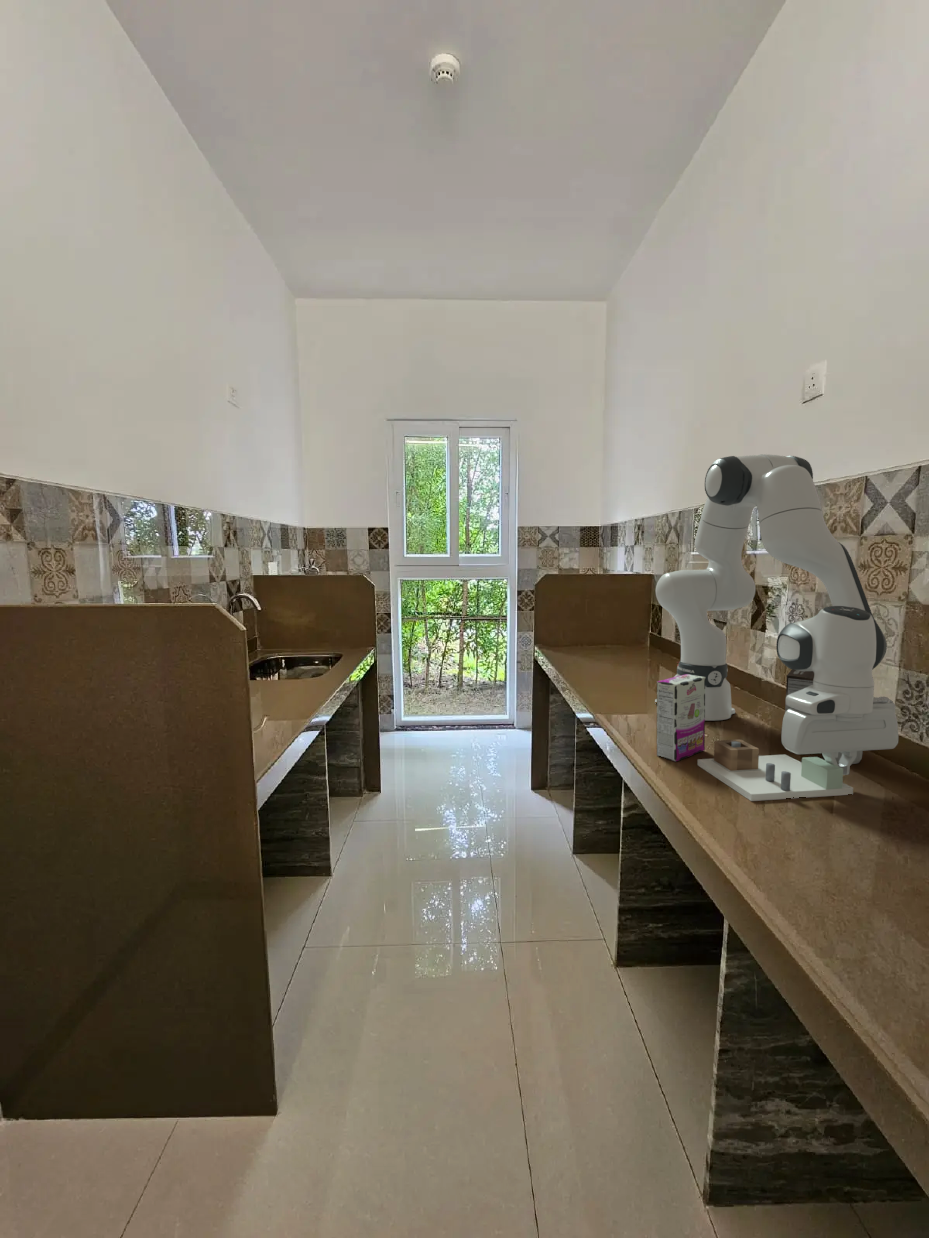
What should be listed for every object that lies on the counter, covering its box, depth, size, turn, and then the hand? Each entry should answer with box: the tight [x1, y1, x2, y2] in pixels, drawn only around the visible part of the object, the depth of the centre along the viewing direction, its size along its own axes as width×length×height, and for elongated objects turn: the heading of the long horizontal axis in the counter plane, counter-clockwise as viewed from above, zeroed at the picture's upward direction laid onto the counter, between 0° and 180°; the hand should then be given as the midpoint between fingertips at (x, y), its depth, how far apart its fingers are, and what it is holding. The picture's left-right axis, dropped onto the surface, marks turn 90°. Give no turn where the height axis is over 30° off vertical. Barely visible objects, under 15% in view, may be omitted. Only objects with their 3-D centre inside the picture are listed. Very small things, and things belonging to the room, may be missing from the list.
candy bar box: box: [656, 674, 706, 762], centre depth 115 cm, size 11×5×16 cm, turn 126°
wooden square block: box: [713, 739, 760, 771], centre depth 105 cm, size 6×6×4 cm
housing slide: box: [801, 756, 844, 789], centre depth 96 cm, size 6×3×4 cm, turn 6°
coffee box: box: [784, 669, 814, 713], centre depth 120 cm, size 9×6×16 cm
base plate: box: [697, 741, 854, 802], centre depth 101 cm, size 17×19×6 cm
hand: (838, 774), depth 97 cm, fingers closed
